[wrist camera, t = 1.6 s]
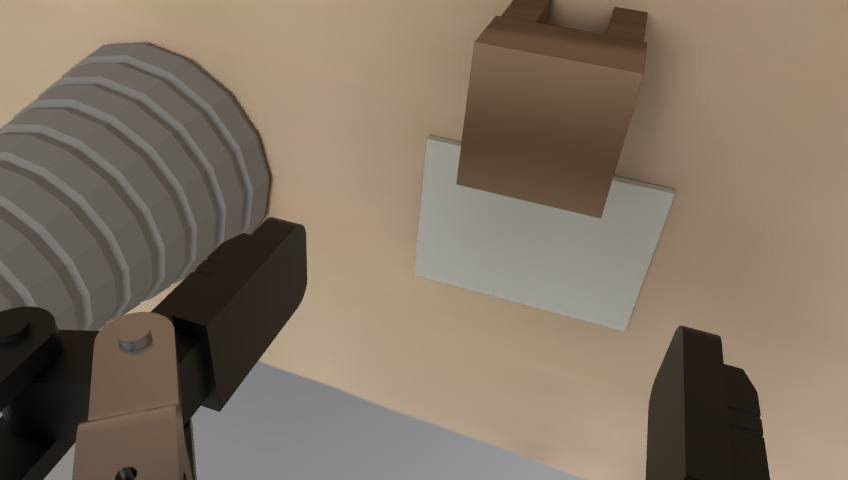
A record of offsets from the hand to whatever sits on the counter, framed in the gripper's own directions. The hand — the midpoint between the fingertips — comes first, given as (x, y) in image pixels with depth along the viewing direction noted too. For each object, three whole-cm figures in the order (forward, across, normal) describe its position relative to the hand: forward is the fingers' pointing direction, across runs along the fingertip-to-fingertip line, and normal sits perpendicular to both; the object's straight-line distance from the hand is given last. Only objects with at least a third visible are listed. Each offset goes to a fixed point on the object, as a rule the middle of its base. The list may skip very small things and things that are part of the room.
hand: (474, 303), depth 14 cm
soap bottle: (+16, +20, +9) cm, 27 cm away
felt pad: (+16, 0, +8) cm, 18 cm away
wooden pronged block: (+16, 0, 0) cm, 16 cm away
